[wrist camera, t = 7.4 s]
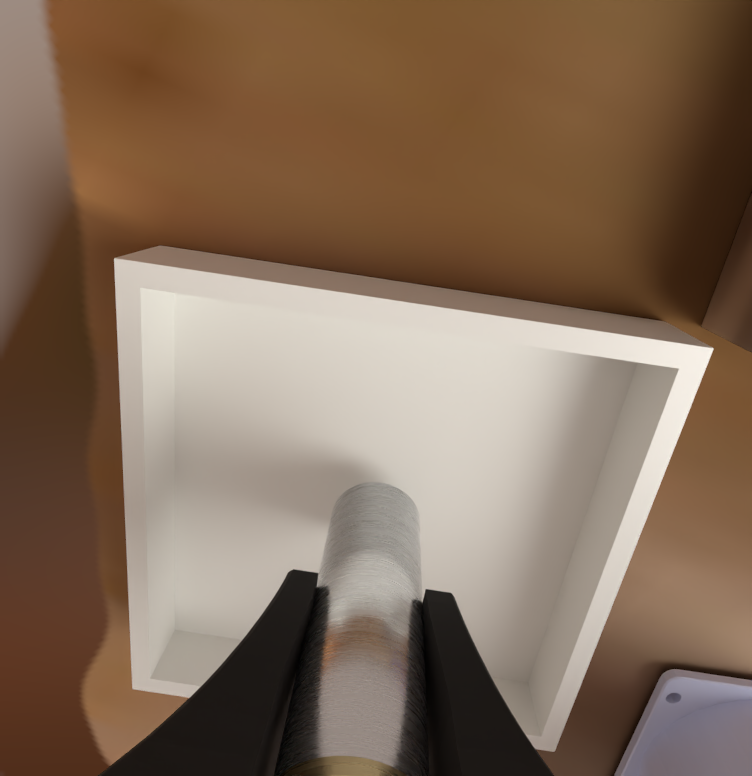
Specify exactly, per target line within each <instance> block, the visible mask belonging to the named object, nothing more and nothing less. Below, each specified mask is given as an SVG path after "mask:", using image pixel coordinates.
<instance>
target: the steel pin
mask: <svg viewBox="0 0 752 776" xmlns="http://www.w3.org/2000/svg"><path fill="white" fill-rule="evenodd" d="M274 776H429V758H428V732H427V705H426V679H425V653H424V630H423V599H422V573H421V547H420V520H419V513H418V510H417V507H416V505H415V503H414V502H413V500H412V499H411V498H410V497H409V496H408V495H407V494H406V493H405V492H403V491H402V490H400V489H399V488H397V487H394V486H392V485H389V484H385V483H378V482H369V483H363V484H359V485H356V486H354V487H352V488H350V489H348V490H347V491H345V492H344V493H343V494H342V495H341V496H340V497H339V498H338V500H337V501H336V503H335V505H334V508H333V511H332V515H331V520H330V524H329V529H328V533H327V538H326V542H325V547H324V551H323V556H322V560H321V565H320V569H319V574H318V581H317V588H316V593H315V598H314V602H313V607H312V611H311V616H310V620H309V624H308V627H307V631H306V635H305V638H304V642H303V646H302V650H301V655H300V659H299V664H298V668H297V673H296V677H295V682H294V686H293V691H292V695H291V700H290V704H289V709H288V713H287V718H286V722H285V727H284V731H283V736H282V740H281V745H280V749H279V754H278V758H277V763H276V767H275V772H274Z"/></svg>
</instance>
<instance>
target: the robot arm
mask: <svg viewBox="0 0 752 776" xmlns="http://www.w3.org/2000/svg"><path fill="white" fill-rule="evenodd" d="M317 581H318V573H315V572H309V571H302V570H295V569H293V570H291V571H289V572H288V573H287V575H286V577H285V579H284V581H283V583H282V585H281V586H280V588H279V590H278V591H277V593H276V594H275V596H274V598H273V599H272V601H271V602H270V603H269V605H268V606H267V608H266V609H265V611H264V612H263V613H262V615H261V616H260V617H259V619H258V620H257V621H256V623H255V624H254V625H253V627H252V628H251V629H250V631H249V632H248V633H247V635H246V636H245V637H244V639H243V640H242V641H241V642H240V643H239V644H238V646H237V647H236V648H235V649H234V650H233V652H232V653H231V654H230V655H229V656H228V657H227V659H226V660H225V661H224V662H223V663H222V664H221V666H220V667H219V668H218V669H217V670H216V671H215V672H214V673H213V674H212V675H211V677H210V678H209V679H208V680H207V681H206V682H205V683H204V684H203V685H202V686H201V687H200V688H199V689H198V690H197V691H196V692H195V693H194V694H193V695H192V696H191V697H190V698H189V699H188V700H187V701H186V702H185V703H184V704H183V705H182V706H181V707H179V708H178V709H177V710H176V711H175V712H174V713H173V714H172V715H171V716H170V717H169V718H168V719H166V720H165V721H164V722H163V723H162V724H161V725H160V726H159V727H158V728H156V729H155V730H154V731H153V732H152V733H151V734H150V735H148V736H147V737H146V738H145V739H144V740H142V741H141V742H140V743H139V744H137V745H136V746H135V747H134V748H132V749H131V750H130V751H129V752H127V753H126V754H125V755H124V756H122V757H121V758H120V759H119V760H117V761H116V762H115V763H114V764H112V765H111V766H110V767H109V768H107V770H105V771H103V772H102V773H101V774H100V775H98V776H274V772H275V767H276V763H277V758H278V754H279V749H280V745H281V740H282V736H283V731H284V727H285V722H286V718H287V713H288V709H289V704H290V700H291V695H292V691H293V686H294V682H295V677H296V673H297V668H298V664H299V659H300V655H301V650H302V646H303V642H304V638H305V635H306V631H307V627H308V624H309V620H310V616H311V611H312V607H313V602H314V598H315V593H316V588H317ZM423 630H424V653H425V679H426V705H427V732H428V758H429V776H554V775H553V773H552V772H551V771H550V769H549V768H548V766H547V765H546V764H545V762H544V761H543V760H542V758H541V757H540V755H539V754H538V752H537V751H536V750H535V748H534V747H533V745H532V744H531V742H530V741H529V739H528V738H527V736H526V735H525V733H524V732H523V730H522V729H521V727H520V725H519V724H518V722H517V721H516V719H515V717H514V716H513V714H512V712H511V711H510V709H509V707H508V706H507V704H506V702H505V701H504V699H503V697H502V695H501V694H500V692H499V690H498V688H497V687H496V685H495V683H494V681H493V679H492V678H491V676H490V674H489V672H488V670H487V668H486V666H485V664H484V662H483V660H482V658H481V656H480V654H479V652H478V650H477V648H476V646H475V644H474V642H473V640H472V637H471V635H470V633H469V631H468V629H467V626H466V624H465V622H464V620H463V617H462V615H461V612H460V610H459V607H458V605H457V602H456V600H455V597H454V596H453V595H452V593H449V592H442V591H436V590H429V589H426V590H425V594H424V599H423ZM614 776H752V680H747V679H740V678H733V677H726V676H720V675H713V674H706V673H700V672H693V671H686V670H680V669H671V670H668V671H666V672H664V673H663V674H662V675H661V677H660V678H659V681H658V683H657V685H656V687H655V689H654V691H653V693H652V696H651V698H650V700H649V702H648V704H647V706H646V708H645V711H644V713H643V715H642V717H641V719H640V721H639V723H638V725H637V728H636V730H635V732H634V734H633V736H632V738H631V740H630V743H629V745H628V747H627V749H626V751H625V753H624V755H623V758H622V760H621V762H620V764H619V766H618V768H617V770H616V773H615V775H614Z"/></svg>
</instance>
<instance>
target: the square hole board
mask: <svg viewBox="0 0 752 776" xmlns="http://www.w3.org/2000/svg"><path fill="white" fill-rule="evenodd" d="M701 327H702V328H704V329H706V330H708V331H710V332H712V333H714V334H716V335H718V336H720V337H722V338H724V339H726V340H728V341H730V342H732V343H734V344H736V345H738V346H740V347H742V348H744V349H746V350H748V351H750V352H752V193H751V196H750V198H749V201H748V204H747V206H746V209H745V212H744V214H743V217H742V220H741V222H740V225H739V228H738V230H737V233H736V235H735V238H734V241H733V243H732V246H731V249H730V251H729V254H728V257H727V259H726V262H725V264H724V267H723V270H722V272H721V275H720V278H719V280H718V283H717V286H716V288H715V291H714V294H713V296H712V299H711V301H710V304H709V307H708V309H707V312H706V315H705V317H704V320H703V323H702V325H701Z"/></svg>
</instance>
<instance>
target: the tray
mask: <svg viewBox="0 0 752 776" xmlns="http://www.w3.org/2000/svg"><path fill="white" fill-rule="evenodd" d="M114 270H115V294H116V317H117V340H118V364H119V387H120V411H121V434H122V458H123V481H124V505H125V528H126V552H127V575H128V598H129V622H130V645H131V669H132V689H135V690H142V691H148V692H155V693H162V694H168V695H175V696H182V697H189V698H190V697H191V696H192V695H193V694H194V693H195V692H196V691H197V690H198V689H199V688H200V687H201V686H202V685H203V684H204V683H205V682H206V681H207V680H208V679H209V678H210V677H211V675H212V674H213V673H214V672H215V671H216V670H217V669H218V668H219V667H220V666H221V664H222V663H223V662H224V661H225V660H226V659H227V657H228V656H229V655H230V654H231V653H232V652H233V650H234V649H235V648H236V647H237V646H238V644H239V643H240V642H241V641H242V640H243V639H244V637H245V636H246V635H247V633H248V632H249V631H250V629H251V628H252V627H253V625H254V624H255V623H256V621H257V620H258V619H259V617H260V616H261V615H262V613H263V612H264V611H265V609H266V608H267V606H268V605H269V603H270V602H271V601H272V599H273V598H274V596H275V594H276V593H277V591H278V590H279V588H280V586H281V585H282V583H283V581H284V579H285V577H286V575H287V573H288V572H289V571H291V570H293V569H295V570H302V571H309V572H315V573H318V574H319V569H320V565H321V560H322V556H323V551H324V547H325V542H326V538H327V533H328V529H329V524H330V520H331V515H332V511H333V508H334V505H335V503H336V501H337V500H338V498H339V497H340V496H341V495H342V494H343V493H344V492H345V491H347V490H348V489H350V488H352V487H354V486H356V485H359V484H363V483H369V482H378V483H385V484H389V485H392V486H394V487H397V488H399V489H400V490H402V491H403V492H405V493H406V494H407V495H408V496H409V497H410V498H411V499H412V500H413V502H414V503H415V505H416V507H417V510H418V513H419V520H420V547H421V573H422V599H424V594H425V590H426V589H429V590H436V591H442V592H449V593H452V595H453V596H454V597H455V600H456V602H457V605H458V607H459V610H460V612H461V615H462V617H463V620H464V622H465V624H466V626H467V629H468V631H469V633H470V635H471V637H472V640H473V642H474V644H475V646H476V648H477V650H478V652H479V654H480V656H481V658H482V660H483V662H484V664H485V666H486V668H487V670H488V672H489V674H490V676H491V678H492V679H493V681H494V683H495V685H496V687H497V688H498V690H499V692H500V694H501V695H502V697H503V699H504V701H505V702H506V704H507V706H508V707H509V709H510V711H511V712H512V714H513V716H514V717H515V719H516V721H517V722H518V724H519V725H520V727H521V729H522V730H523V732H524V733H525V735H526V736H527V738H528V739H529V741H530V742H531V744H532V745H533V747H534V748H535V749H538V750H545V751H551V752H555V750H556V747H557V745H558V742H559V739H560V737H561V734H562V732H563V729H564V727H565V724H566V722H567V719H568V717H569V714H570V712H571V709H572V706H573V704H574V701H575V699H576V696H577V694H578V691H579V689H580V686H581V684H582V681H583V679H584V676H585V674H586V671H587V668H588V666H589V663H590V661H591V658H592V656H593V653H594V651H595V648H596V646H597V643H598V641H599V638H600V635H601V633H602V630H603V628H604V625H605V623H606V620H607V618H608V615H609V613H610V610H611V608H612V605H613V603H614V600H615V597H616V595H617V592H618V590H619V587H620V585H621V582H622V580H623V577H624V575H625V572H626V570H627V567H628V564H629V562H630V559H631V557H632V554H633V552H634V549H635V547H636V544H637V542H638V539H639V537H640V534H641V532H642V529H643V526H644V524H645V521H646V519H647V516H648V514H649V511H650V509H651V506H652V504H653V501H654V499H655V496H656V493H657V491H658V488H659V486H660V483H661V481H662V478H663V476H664V473H665V471H666V468H667V466H668V463H669V461H670V458H671V455H672V453H673V450H674V448H675V445H676V443H677V440H678V438H679V435H680V433H681V430H682V428H683V425H684V422H685V420H686V417H687V415H688V412H689V410H690V407H691V405H692V402H693V400H694V397H695V395H696V392H697V389H698V387H699V384H700V382H701V379H702V377H703V374H704V372H705V369H706V367H707V364H708V362H709V359H710V357H711V354H712V351H713V349H714V348H712V347H710V346H708V345H707V344H705V343H703V342H701V341H699V340H698V339H696V338H694V337H692V336H690V335H689V334H687V333H685V332H683V331H681V330H680V329H678V328H676V327H674V326H672V325H671V324H669V323H667V322H665V321H659V320H652V319H646V318H639V317H633V316H626V315H619V314H613V313H606V312H599V311H593V310H586V309H579V308H573V307H566V306H559V305H553V304H546V303H540V302H533V301H526V300H520V299H513V298H506V297H500V296H493V295H486V294H480V293H473V292H467V291H460V290H453V289H447V288H440V287H433V286H427V285H420V284H413V283H407V282H400V281H394V280H387V279H380V278H374V277H367V276H360V275H354V274H347V273H340V272H334V271H327V270H321V269H314V268H307V267H301V266H294V265H287V264H281V263H274V262H267V261H261V260H254V259H247V258H241V257H234V256H228V255H221V254H214V253H208V252H201V251H194V250H188V249H181V248H174V247H168V246H161V245H160V246H156V247H153V248H149V249H145V250H142V251H138V252H134V253H131V254H127V255H124V256H120V257H116V258H114Z"/></svg>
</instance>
